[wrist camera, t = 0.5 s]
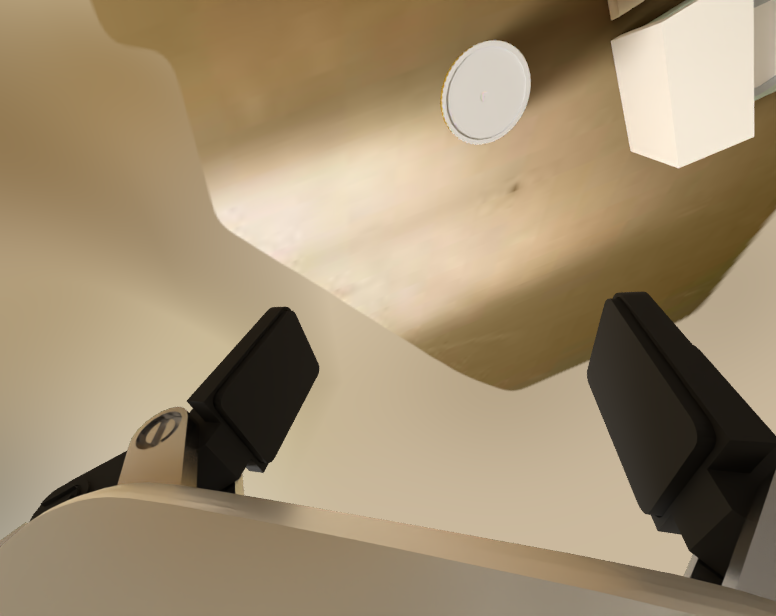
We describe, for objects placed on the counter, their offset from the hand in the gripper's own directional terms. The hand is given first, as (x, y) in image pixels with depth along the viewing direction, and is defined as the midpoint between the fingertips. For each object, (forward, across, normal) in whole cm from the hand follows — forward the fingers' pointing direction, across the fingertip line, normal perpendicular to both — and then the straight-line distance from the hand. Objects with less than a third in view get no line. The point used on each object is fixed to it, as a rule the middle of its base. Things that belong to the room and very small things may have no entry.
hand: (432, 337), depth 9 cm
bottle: (+35, -2, -5) cm, 36 cm away
